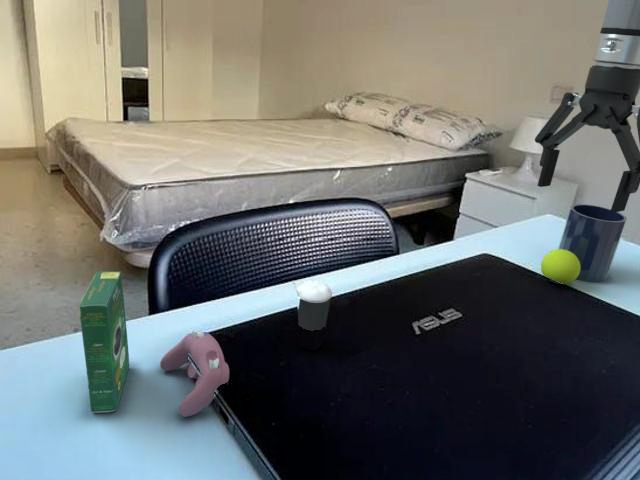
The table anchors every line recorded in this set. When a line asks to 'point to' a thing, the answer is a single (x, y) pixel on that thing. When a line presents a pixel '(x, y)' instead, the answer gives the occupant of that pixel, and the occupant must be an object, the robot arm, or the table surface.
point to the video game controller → (209, 365)
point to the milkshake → (313, 304)
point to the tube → (593, 239)
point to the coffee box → (105, 340)
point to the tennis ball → (561, 266)
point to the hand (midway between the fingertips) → (578, 197)
